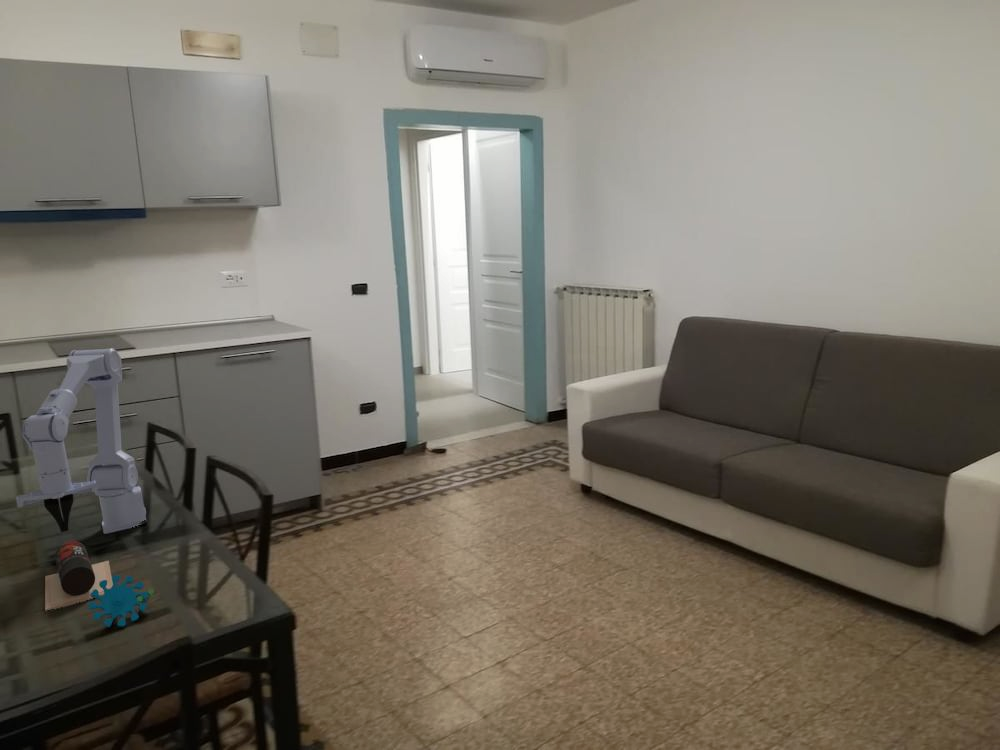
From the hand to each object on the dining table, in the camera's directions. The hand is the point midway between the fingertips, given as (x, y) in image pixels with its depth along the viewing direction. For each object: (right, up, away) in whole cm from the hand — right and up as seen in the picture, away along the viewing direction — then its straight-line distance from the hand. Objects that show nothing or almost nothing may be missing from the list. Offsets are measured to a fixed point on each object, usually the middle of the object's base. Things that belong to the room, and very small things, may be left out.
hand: (64, 529), depth 157 cm
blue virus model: (+22, -13, -18) cm, 31 cm away
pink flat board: (+6, -11, -5) cm, 13 cm away
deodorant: (0, -6, +2) cm, 6 cm away
